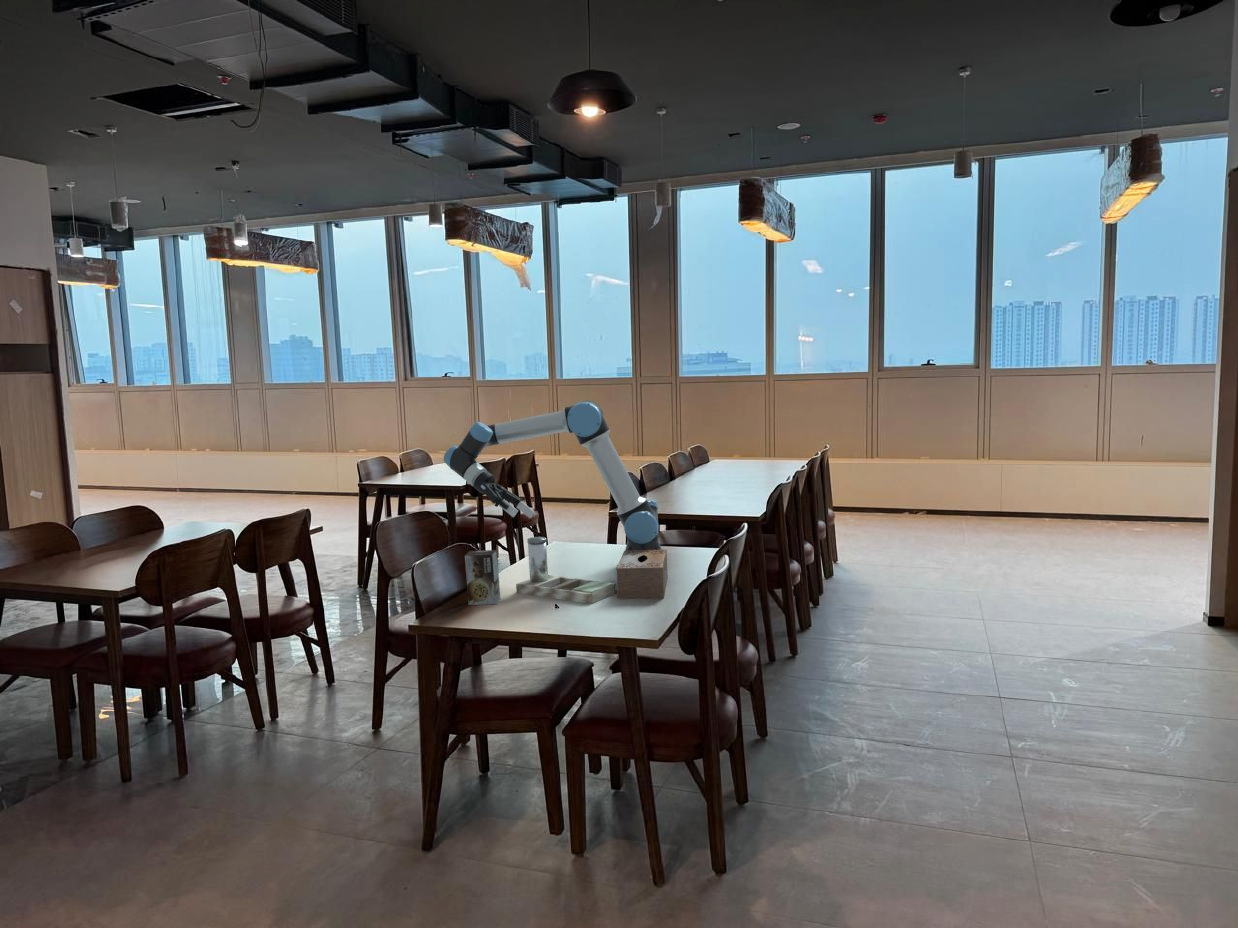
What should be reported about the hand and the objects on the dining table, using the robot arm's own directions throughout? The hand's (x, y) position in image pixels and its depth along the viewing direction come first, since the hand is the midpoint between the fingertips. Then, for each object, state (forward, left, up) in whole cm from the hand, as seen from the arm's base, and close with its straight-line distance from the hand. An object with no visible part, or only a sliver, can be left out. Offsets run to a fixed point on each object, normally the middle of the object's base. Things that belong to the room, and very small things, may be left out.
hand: (524, 514), depth 280 cm
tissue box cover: (-40, +13, -24) cm, 48 cm away
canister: (-5, +11, -20) cm, 24 cm away
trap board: (-15, +16, -23) cm, 32 cm away
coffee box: (+10, +24, -24) cm, 36 cm away
